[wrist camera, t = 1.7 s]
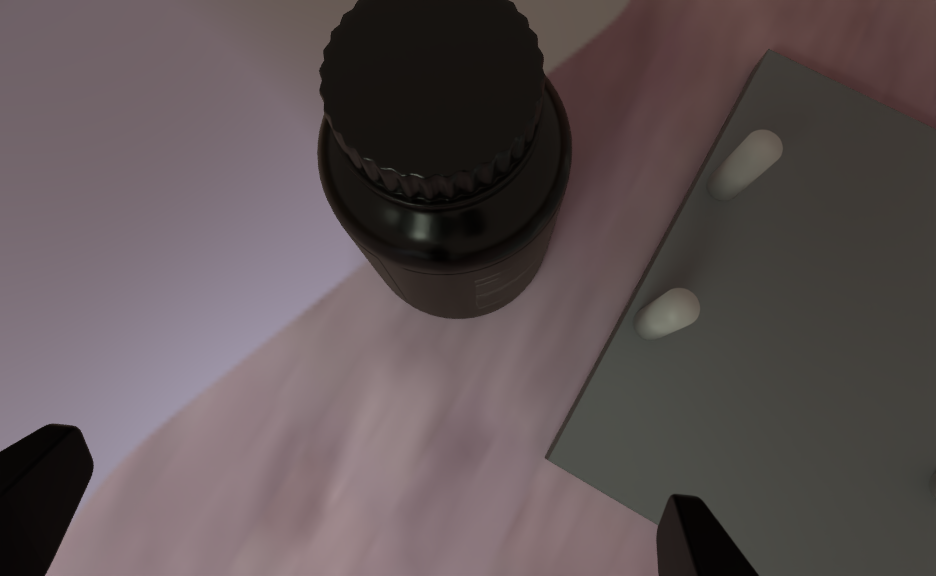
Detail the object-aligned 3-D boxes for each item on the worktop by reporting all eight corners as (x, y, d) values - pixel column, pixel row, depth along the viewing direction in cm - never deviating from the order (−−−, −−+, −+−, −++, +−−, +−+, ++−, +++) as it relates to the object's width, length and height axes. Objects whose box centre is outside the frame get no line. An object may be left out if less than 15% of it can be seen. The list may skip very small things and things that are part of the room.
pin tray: (880, 656, 22) (989, 721, 17) (544, 457, 23) (560, 467, 18) (1065, 215, 24) (1200, 169, 20) (755, 65, 26) (814, -11, 21)
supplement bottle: (533, 145, 26) (578, -87, 14) (556, 311, 24) (627, 211, 12) (364, 163, 26) (264, -54, 14) (376, 330, 24) (278, 249, 12)
